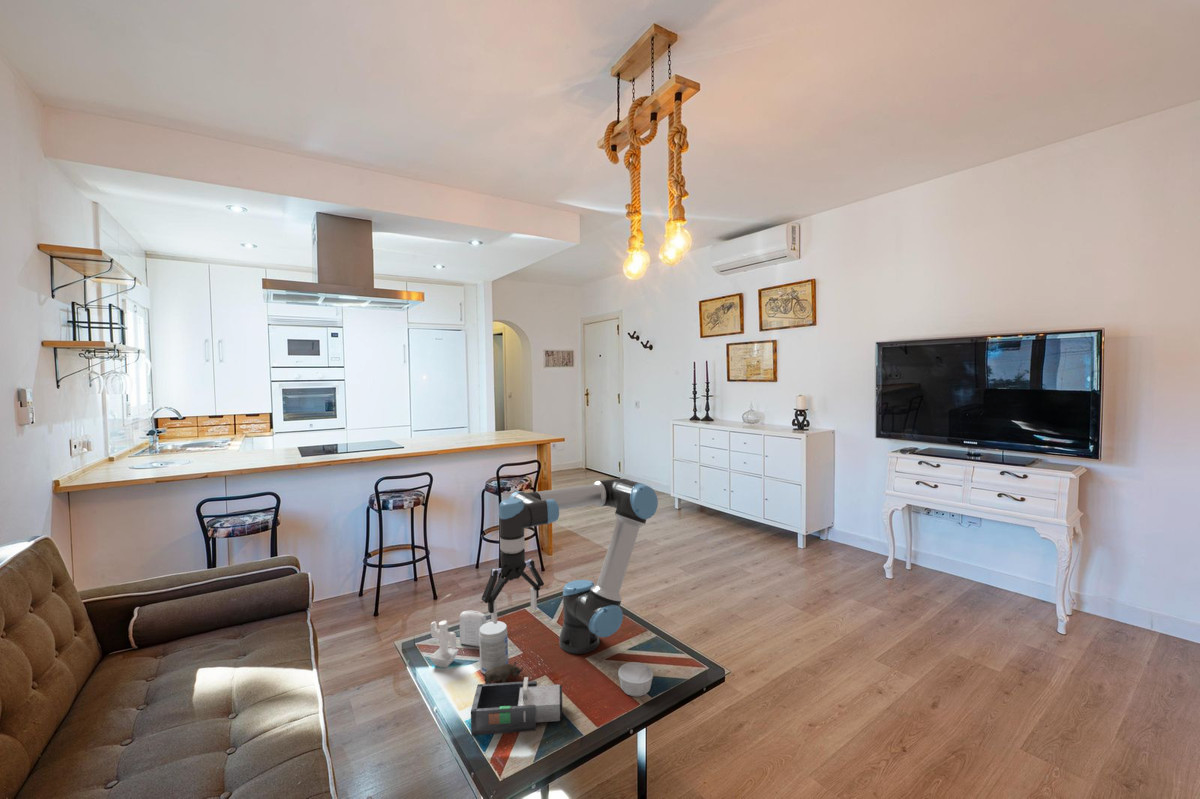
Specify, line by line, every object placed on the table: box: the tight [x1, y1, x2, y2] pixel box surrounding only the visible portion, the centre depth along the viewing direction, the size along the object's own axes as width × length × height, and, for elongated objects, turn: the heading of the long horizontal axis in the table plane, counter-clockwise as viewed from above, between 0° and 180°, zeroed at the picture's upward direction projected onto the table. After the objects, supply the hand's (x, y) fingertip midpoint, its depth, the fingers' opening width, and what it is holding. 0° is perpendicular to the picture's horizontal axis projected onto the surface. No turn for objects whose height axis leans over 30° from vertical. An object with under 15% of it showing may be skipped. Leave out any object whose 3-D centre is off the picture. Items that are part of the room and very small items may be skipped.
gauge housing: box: [470, 680, 538, 736], centre depth 145 cm, size 18×12×7 cm
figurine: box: [428, 619, 460, 669], centre depth 173 cm, size 7×9×15 cm
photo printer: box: [459, 610, 487, 648], centre depth 185 cm, size 10×4×12 cm, turn 76°
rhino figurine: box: [483, 661, 524, 684], centre depth 162 cm, size 4×14×6 cm, turn 118°
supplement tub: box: [479, 620, 509, 675], centre depth 169 cm, size 10×10×15 cm
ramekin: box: [617, 661, 654, 697], centre depth 159 cm, size 11×11×5 cm
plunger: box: [518, 676, 564, 723], centre depth 146 cm, size 13×9×9 cm
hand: (514, 615), depth 155 cm, fingers open, 13 cm apart
